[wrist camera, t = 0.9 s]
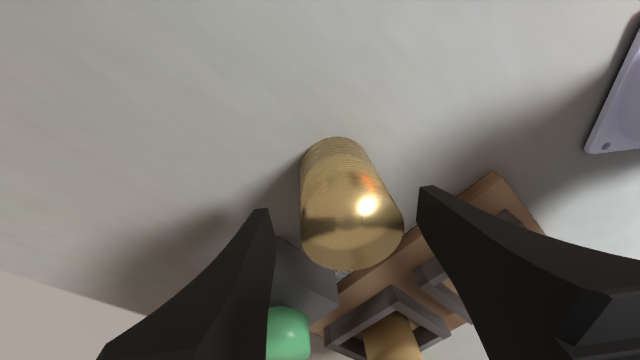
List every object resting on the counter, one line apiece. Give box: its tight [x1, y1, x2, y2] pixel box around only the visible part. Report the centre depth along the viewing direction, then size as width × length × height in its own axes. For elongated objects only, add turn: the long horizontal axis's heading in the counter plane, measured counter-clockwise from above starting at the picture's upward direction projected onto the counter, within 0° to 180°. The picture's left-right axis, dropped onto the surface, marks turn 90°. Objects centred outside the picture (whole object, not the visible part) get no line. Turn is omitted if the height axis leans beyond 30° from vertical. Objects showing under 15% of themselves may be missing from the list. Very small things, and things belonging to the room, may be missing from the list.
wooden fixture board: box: [309, 171, 546, 360], centre depth 19 cm, size 20×13×7 cm, turn 136°
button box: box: [269, 236, 340, 326], centre depth 19 cm, size 6×6×3 cm
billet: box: [300, 137, 404, 271], centre depth 13 cm, size 4×4×6 cm
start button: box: [266, 306, 310, 360], centre depth 16 cm, size 4×4×2 cm
